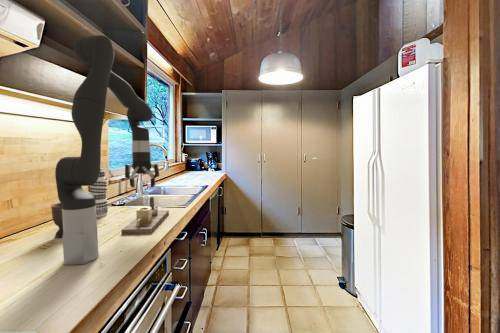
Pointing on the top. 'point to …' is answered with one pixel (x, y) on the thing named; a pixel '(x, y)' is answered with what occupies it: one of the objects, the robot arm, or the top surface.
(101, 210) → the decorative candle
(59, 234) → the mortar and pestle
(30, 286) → the top surface
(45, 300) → the top surface
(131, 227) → the hinge base
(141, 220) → the tan block
